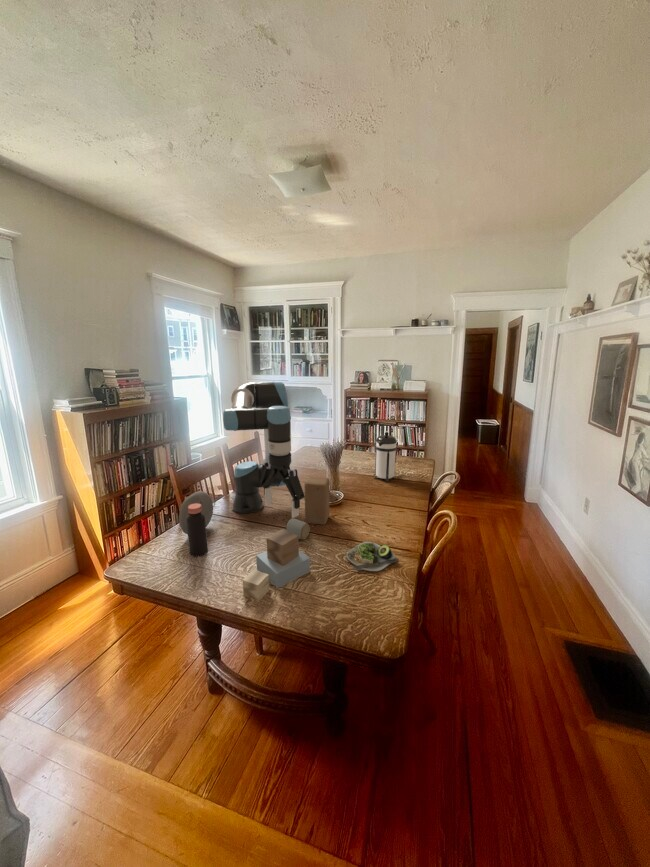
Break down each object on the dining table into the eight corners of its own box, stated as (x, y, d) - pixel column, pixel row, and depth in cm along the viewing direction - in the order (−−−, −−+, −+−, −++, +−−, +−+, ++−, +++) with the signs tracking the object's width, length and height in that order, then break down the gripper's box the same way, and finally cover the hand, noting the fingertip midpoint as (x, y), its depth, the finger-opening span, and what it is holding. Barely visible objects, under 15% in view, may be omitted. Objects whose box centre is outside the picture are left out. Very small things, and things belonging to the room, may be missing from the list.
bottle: (211, 548, 138) (207, 503, 133) (201, 558, 132) (197, 510, 127) (196, 546, 139) (191, 501, 135) (186, 555, 133) (181, 508, 128)
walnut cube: (267, 557, 123) (266, 537, 121) (283, 547, 129) (282, 528, 127) (283, 566, 118) (282, 545, 116) (298, 555, 124) (298, 535, 122)
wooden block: (325, 525, 156) (325, 485, 152) (304, 523, 158) (304, 483, 154) (329, 515, 166) (329, 477, 161) (309, 513, 168) (309, 475, 163)
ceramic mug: (302, 543, 142) (302, 526, 140) (285, 538, 146) (285, 522, 144) (314, 532, 151) (314, 516, 150) (298, 527, 155) (298, 512, 153)
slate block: (256, 569, 126) (256, 555, 124) (288, 555, 134) (288, 541, 133) (277, 589, 115) (276, 573, 114) (310, 572, 124) (309, 557, 123)
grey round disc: (207, 521, 160) (204, 484, 155) (219, 524, 157) (216, 486, 153) (176, 541, 143) (171, 499, 139) (188, 544, 141) (184, 503, 136)
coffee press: (400, 482, 208) (403, 435, 201) (374, 482, 208) (376, 434, 201) (395, 472, 225) (397, 428, 218) (370, 472, 225) (372, 428, 218)
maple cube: (243, 595, 112) (242, 579, 110) (254, 584, 117) (253, 569, 116) (258, 601, 109) (257, 585, 108) (269, 589, 114) (268, 574, 113)
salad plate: (371, 583, 118) (371, 572, 117) (335, 561, 131) (335, 550, 130) (403, 561, 131) (404, 550, 130) (367, 542, 144) (368, 532, 142)
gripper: (247, 447, 119) (250, 503, 124) (298, 463, 104) (299, 526, 109) (264, 443, 125) (266, 496, 130) (315, 457, 109) (315, 517, 114)
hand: (281, 510), depth 119 cm, fingers open, 13 cm apart
